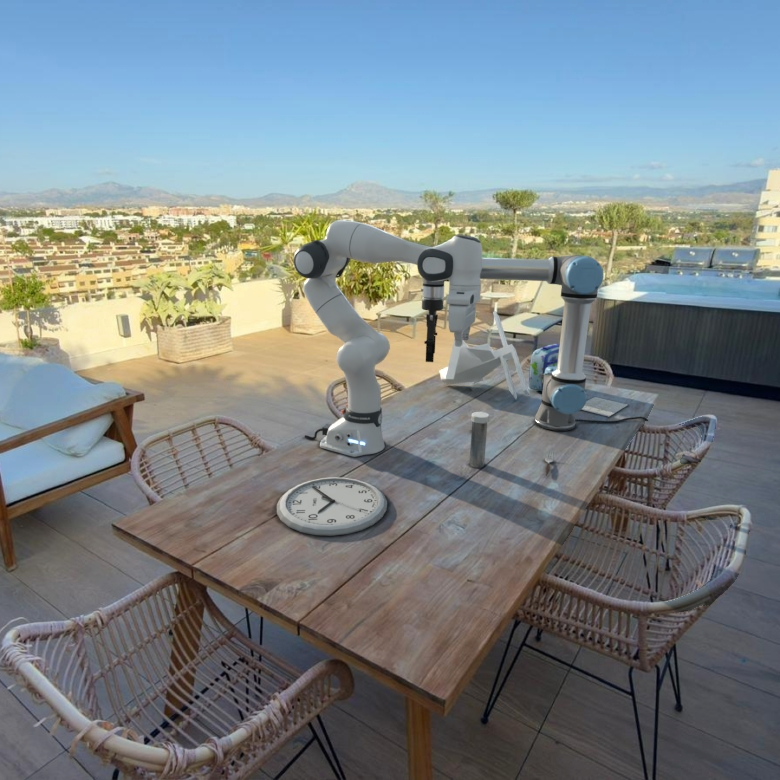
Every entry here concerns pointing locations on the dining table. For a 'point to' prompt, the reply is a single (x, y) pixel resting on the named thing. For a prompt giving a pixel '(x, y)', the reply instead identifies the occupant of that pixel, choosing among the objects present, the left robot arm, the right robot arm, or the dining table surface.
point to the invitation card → (603, 406)
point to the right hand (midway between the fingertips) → (430, 357)
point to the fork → (548, 462)
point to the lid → (480, 417)
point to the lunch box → (542, 365)
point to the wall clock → (331, 506)
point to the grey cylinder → (478, 444)
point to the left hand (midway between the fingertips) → (462, 342)
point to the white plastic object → (482, 362)
